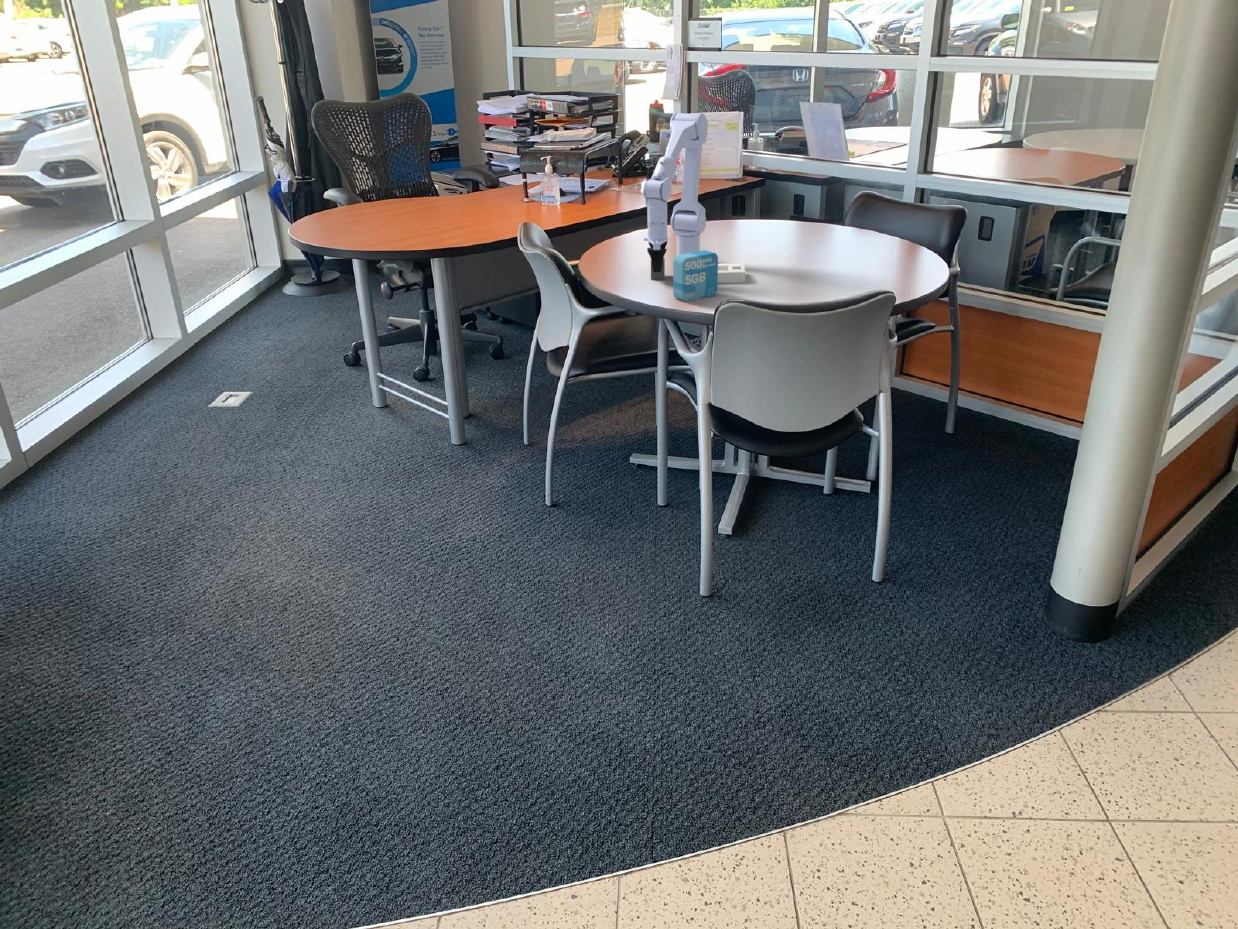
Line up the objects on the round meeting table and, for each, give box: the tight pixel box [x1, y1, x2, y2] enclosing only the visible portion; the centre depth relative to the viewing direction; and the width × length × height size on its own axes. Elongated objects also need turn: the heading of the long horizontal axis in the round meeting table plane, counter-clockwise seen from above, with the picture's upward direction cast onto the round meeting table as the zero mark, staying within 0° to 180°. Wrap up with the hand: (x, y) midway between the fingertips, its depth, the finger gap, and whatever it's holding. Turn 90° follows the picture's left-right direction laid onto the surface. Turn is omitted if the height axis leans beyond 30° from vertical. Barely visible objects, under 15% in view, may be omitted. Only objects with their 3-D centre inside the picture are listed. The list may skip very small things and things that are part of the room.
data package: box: [672, 249, 719, 302], centre depth 249 cm, size 12×4×12 cm, turn 122°
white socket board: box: [717, 263, 746, 284], centre depth 268 cm, size 10×18×3 cm, turn 86°
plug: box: [650, 257, 666, 281], centre depth 269 cm, size 4×4×6 cm
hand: (657, 268), depth 269 cm, fingers open, 7 cm apart
